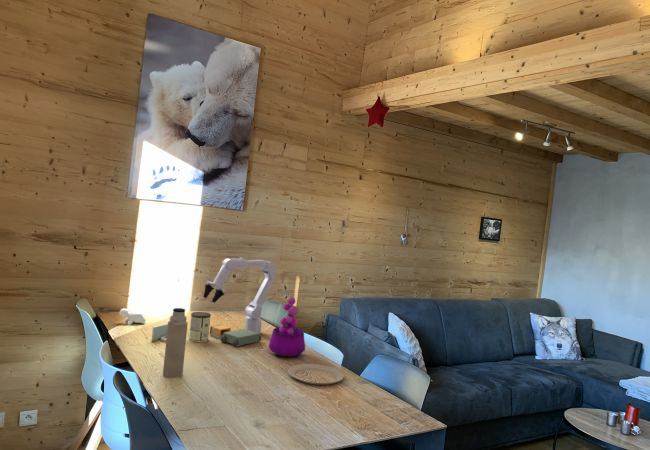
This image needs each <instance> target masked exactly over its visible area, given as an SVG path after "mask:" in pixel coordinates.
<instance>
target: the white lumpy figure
mask: <svg viewBox="0 0 650 450" xmlns="http://www.w3.org/2000/svg"><path fill="white" fill-rule="evenodd" d="M118 313H119V315H120V317H122V318H126V319H125V320H124V322H125V323H127V325H128V326H131V324H133V323H134V324H139V323H142V324H145V323H146V321H147V319H146V318H145V316H144V314H143V313H142V312H141V311H140V310H138V311H137V310H131V311H129V310H128V309H127V308H121V309H120V310H119V312H118Z"/></svg>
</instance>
